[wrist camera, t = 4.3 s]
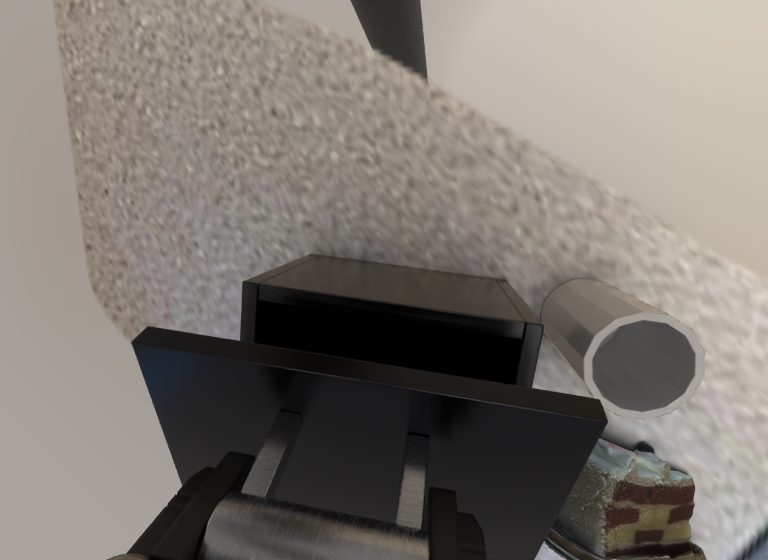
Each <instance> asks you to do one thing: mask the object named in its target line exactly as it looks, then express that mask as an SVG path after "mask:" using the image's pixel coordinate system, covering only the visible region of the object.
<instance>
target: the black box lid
mask: <svg viewBox="0 0 768 560" xmlns="http://www.w3.org/2000/svg"><path fill="white" fill-rule="evenodd" d="M131 343H132V346H133V349H134V352H135V354H136V357H137V360H138V362H139V366H140V368H141V371H142V374H143V377H144V379H145V382H146V385H147V388H148V391H149V394H150V397H151V399H152V402H153V405H154V408H155V410H156V413H157V416H158V419H159V421H160V425H161V427H162V430H163V433H164V436H165V439H166V441H167V444H168V447H169V450H170V453H171V455H172V458H173V461H174V464H175V467H176V469H177V472H178V475H179V477H180V480H181V483H182V486H183V485H184V484H185V482H186V481H187V480H188V479H189V478H190V477H191V476H193V475H194V474H196V473H197V472H199V471H200V470H202V469H204V468H205V467H212V468H216V467H217V465H218V464H219V463H220V462H221V460H222V459H223V458H224V456H225V455H226V454H227V453H228V452H229V451H233V452H238V453H244V454H250V455H254V456H255V457H256V460H255V462H254V464H253V466H252V468H251V470H250V473H249V475H248V477H247V479H246V481H245V483H244V485H243V487H242V489H241V491H240V492H238V491H232V492H229V493H227V494H226V495H225V496H224V497H223V498H222V499H221V500H220V502H219V503H218V505H217V506H216V508H215V509H214V511H213V513H212V515H211V517H210V519H209V521H208V523H207V526H206V528H205V531H204V533H203V536H202V539H201V542H200V546H199V549H198V553H197V558H196V560H429V558H430V535H429V531H427V530H425V529H423V524H424V517H425V511H426V504H427V498H428V492H429V487H430V486H431V487H437V488H443V489H448V490H454V491H455V492H456V500H457V512H462V513H468V514H473V515H474V517H475V518H476V520H477V522H478V524H479V525H480V527H481V529H482V530H483V534H484V541H485V547H486V554H487V560H534V559H535V557H536V555H537V554H538V552H539V550H540V548H541V546H542V544H543V542H544V541H545V539H546V537H547V535H548V533H549V531H550V529H551V527H552V526H553V524H554V522H555V520H556V518H557V516H558V514H559V513H560V511H561V509H562V507H563V505H564V503H565V501H566V500H567V498H568V496H569V494H570V492H571V490H572V488H573V486H574V485H575V483H576V481H577V479H578V477H579V475H580V473H581V472H582V470H583V468H584V466H585V464H586V462H587V460H588V458H589V457H590V455H591V453H592V451H593V449H594V447H595V445H596V444H597V442H598V440H599V438H600V436H601V434H602V432H603V431H604V429H605V427H606V425H607V423H608V420H607V417H606V414H605V411H604V409H603V406H602V403H601V400H600V399H596V398H590V397H583V396H577V395H571V394H565V393H559V392H552V391H546V390H540V389H534V388H528V387H521V386H515V385H509V384H503V383H497V382H490V381H484V380H478V379H472V378H466V377H459V376H453V375H447V374H441V373H435V372H429V371H422V370H416V369H410V368H404V367H398V366H391V365H385V364H379V363H373V362H367V361H360V360H354V359H348V358H342V357H336V356H329V355H323V354H317V353H311V352H305V351H299V350H292V349H286V348H280V347H274V346H268V345H261V344H255V343H249V342H243V341H237V340H230V339H224V338H218V337H212V336H206V335H199V334H193V333H187V332H181V331H175V330H168V329H162V328H156V327H150V326H148V327H146V328H145V329H144V330H143V331H142V332H141V333H140V334H139V335H138V336H137V337H136V338H135V339H134V340H133V341H132V342H131Z"/></svg>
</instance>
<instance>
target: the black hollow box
mask: <svg viewBox="0 0 768 560" xmlns="http://www.w3.org/2000/svg"><path fill="white" fill-rule="evenodd" d="M543 330H544V325H543V323H542V322H541V321H540V320H539V319H538V317H537V316H536V315H535V314H534V313H533V312H532V310H531V309H530V308H529V307H528V306H527V304H526V303H525V302H524V301H523V300H522V298H521V297H520V296H519V295H518V294H517V293H516V291H515V290H514V289H513V288H512V287H511V285H510V284H509V283H508V282H507V281H506V280H503V279H496V278H488V277H481V276H473V275H466V274H458V273H451V272H444V271H436V270H429V269H421V268H414V267H407V266H399V265H392V264H384V263H377V262H369V261H362V260H355V259H347V258H340V257H332V256H325V255H318V254H309V255H307V256H304V257H302V258H299V259H297V260H294V261H292V262H289V263H287V264H285V265H282V266H280V267H277V268H275V269H272V270H270V271H267V272H265V273H263V274H260V275H258V276H255V277H253V278H250V279H248V280H246V281H243V286H242V309H241V331H240V341H243V342H249V343H255V344H261V345H268V346H274V347H280V348H286V349H292V350H299V351H305V352H311V353H317V354H323V355H329V356H336V357H342V358H348V359H354V360H360V361H367V362H373V363H379V364H385V365H391V366H398V367H404V368H410V369H416V370H422V371H429V372H435V373H441V374H447V375H453V376H459V377H466V378H472V379H478V380H484V381H490V382H497V383H503V384H509V385H515V386H521V387H528V388H532V384H533V379H534V374H535V369H536V365H537V360H538V355H539V350H540V345H541V340H542V335H543Z"/></svg>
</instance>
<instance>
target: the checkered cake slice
mask: <svg viewBox="0 0 768 560" xmlns="http://www.w3.org/2000/svg"><path fill="white" fill-rule="evenodd" d="M694 492H695V485H694V482H693V478H692V476H690V475H685V474H683V473H681V472H679V471H672V470H671V466H670V464H669V463H667V462H664V461H660V460H658V459H657V458H656V456H655V455H654V449H653V448H652V447H651V446H649V445H646V444H642V445H640V446H639V447H638V448H637V449H636V450H634V451H633V452H632V451H629V450H626V449H624V448H621V447H619V446H617V445H615V444H612V443H610V442H607V441H604V440H602V439H599V440H598V442H597V444H596V445H595V447H594V449H593V451H592V453H591V455H590V457H589V458H588V460H587V462H586V464H585V466H584V468H583V470H582V472H581V473H580V475H579V477H578V479H577V481H576V483H575V485H574V486H573V488H572V490H571V492H570V494H569V496H568V498H567V500H566V501H565V503H564V505H563V507H562V509H561V511H560V513H559V514H558V516H557V518H556V520H555V522H554V524H553V526H552V527H551V529H550V531H549V533H548V535H547V537H546V539H545V542H546V543H545V544H546V545H548V547H549V548H550V549H552V550H554V551H555V552H556V553H557V554H559V555H560V556H561V557H563V558H566V559H567V560H706V557H705V555H704V553H703V550H702V549H701V548H700V547H699V546H697V545H696V544H694V543H692V542H690V541H689V539H690V531H691V528H690V525H689V519H690V518H691V516H692V514H693V508H694V505H695V504H694V501H693V498H694Z"/></svg>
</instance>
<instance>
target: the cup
mask: <svg viewBox="0 0 768 560" xmlns="http://www.w3.org/2000/svg"><path fill="white" fill-rule="evenodd" d="M541 322H542V323H543V325H544V330H543V331H544V334H545V335H546V337H547V339H548V340H549V342H550V343H551V345H552V346H553V347H554V349H555V350H556V351H557V353H558V354H559V355H560V356H561V358H562V359H563V360H564V362H565V363H566V364H567V365H568V367H569V368H570V369H571V371H572V372H573V373H574V374H575V376H576V377H577V378H578V380H579V381H580V382H581V383H582V385H583V386H584V387H585V389H586V390H587V391H588V392H589V394H590V395H591V396H592V397H593V398H596V399H600V400H601V403H602V406H603V407H604V408H606V409H608V410H609V411H611V412H612V413H614V414H615V415H618V416H623V417H629V418H635V419H648V418H653V417H657V416H662V415H666V414H669V413H671V412H673V411H674V410H676V409H677V408H678V407H680V406H681V405H683V404H684V403H686V402H687V401H688V400H690V399H691V398H692V396H693V395H694V393H695V391H696V390H697V388H698V386H699V384H700V383H701V381H702V379H703V378H704V365H705V352H704V349H703V347H702V346H701V344H700V342H699V340H698V338H697V337H696V335H695V333H694V331H693V330H692V329H691V328H689V327H688V326H686V325H685V324H683V323H682V322H680V321H679V320H677V319H676V318H674V317H672V316H671V315H669V314H667V313H665V312H663V311H661V310H659V309H657V308H655V307H653V306H651V305H649V304H646V303H644V302H642V301H640V300H638V299H636V298H634V297H632V296H630V295H628V294H626V293H624V292H622V291H620V290H618V289H616V288H614V287H612V286H610V285H608V284H606V283H604V282H602V281H597V280H593V279H575V280H571V281H568V282H566V283H564V284H562V285H560V286H558V287H557V288H556V289H555V290H553V291H552V292H551V293H550V295H549V296H548V297H547V299H546V301H545V302H544V305H543V308H542V311H541Z"/></svg>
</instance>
